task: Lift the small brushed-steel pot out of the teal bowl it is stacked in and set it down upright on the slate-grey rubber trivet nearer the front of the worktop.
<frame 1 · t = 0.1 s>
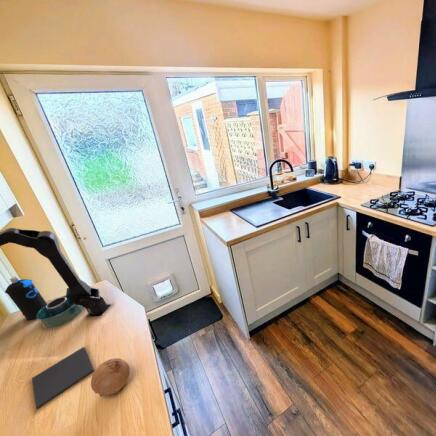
teal bowl: (64, 315, 106), on the countertop
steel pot: (64, 314, 106), resting on teal bowl
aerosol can: (39, 314, 109), on the countertop
trivet: (63, 375, 80), on the countertop
brown coconut: (117, 385, 75), on the countertop
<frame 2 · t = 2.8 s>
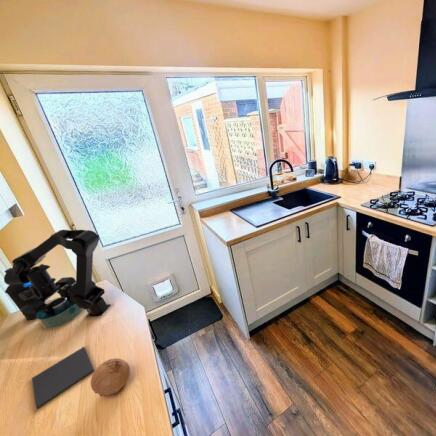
hand: (60, 309, 104), 4 cm above the countertop, tool pointing down, fingers closed on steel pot, 6 cm apart
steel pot: (64, 314, 106), point 1 cm above the countertop, touching teal bowl, gripper
everything else where it was.
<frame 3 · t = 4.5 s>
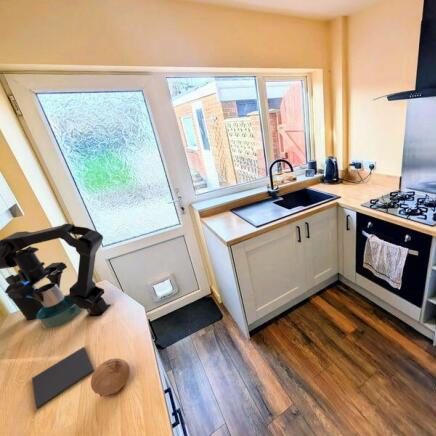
hand: (50, 295, 100), 12 cm above the countertop, tool pointing down, fingers closed on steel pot, 6 cm apart
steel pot: (54, 301, 101), point 9 cm above the countertop, touching gripper
everything else where it was.
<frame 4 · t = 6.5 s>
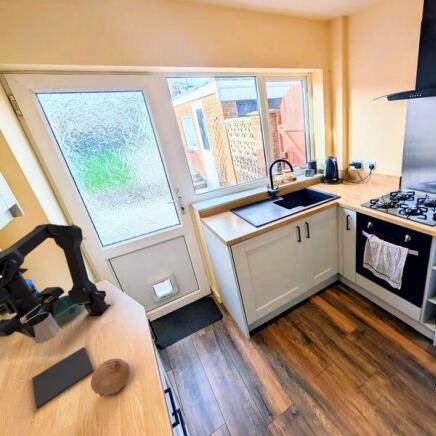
hand: (43, 328, 82), 13 cm above the countertop, tool pointing down, fingers closed on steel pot, 6 cm apart
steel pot: (47, 334, 83), point 10 cm above the countertop, touching gripper
everything else where it was.
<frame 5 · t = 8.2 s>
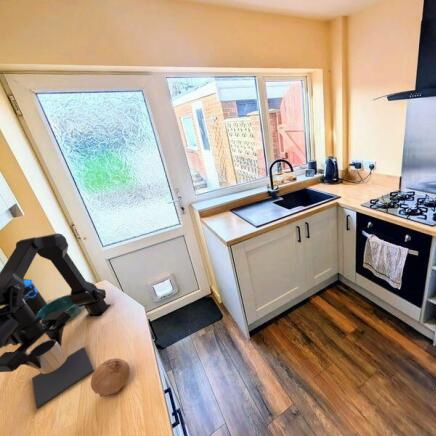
hand: (49, 357, 76), 9 cm above the countertop, tool pointing down, fingers closed on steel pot, 6 cm apart
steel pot: (54, 363, 78), point 6 cm above the countertop, touching gripper
everything else where it was.
when the fingers open (4 cm above the countertop, at t = 10.0 s): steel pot stays where it is, resting on trivet.
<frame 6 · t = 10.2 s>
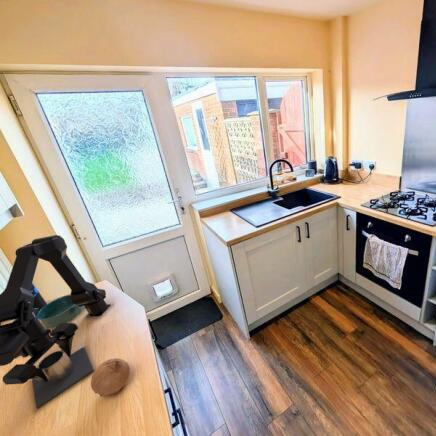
hand: (57, 368, 79), 4 cm above the countertop, tool pointing down, fingers open, 8 cm apart
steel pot: (62, 373, 80), point 1 cm above the countertop, touching trivet
everything else where it was.
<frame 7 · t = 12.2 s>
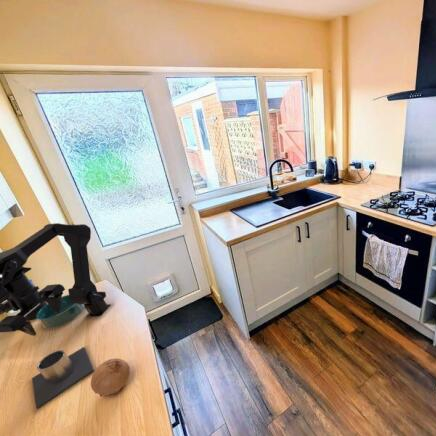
hand: (46, 323, 86), 12 cm above the countertop, tool pointing down, fingers open, 9 cm apart
nothing on the countertop moved.
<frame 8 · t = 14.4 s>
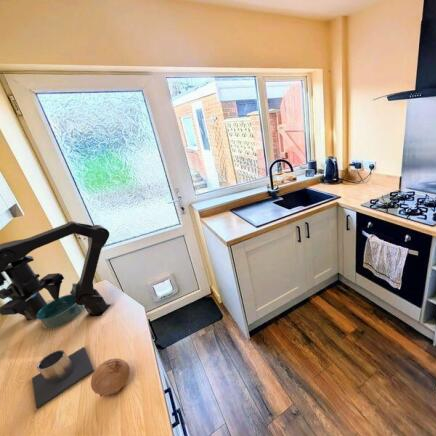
hand: (46, 309, 92), 12 cm above the countertop, tool pointing down, fingers open, 9 cm apart
nothing on the countertop moved.
at the end: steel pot inside the target area on the trivet (0.2 cm from its centre), point 0.8 cm above the trivet's base; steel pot tilted 0°; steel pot touching trivet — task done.
